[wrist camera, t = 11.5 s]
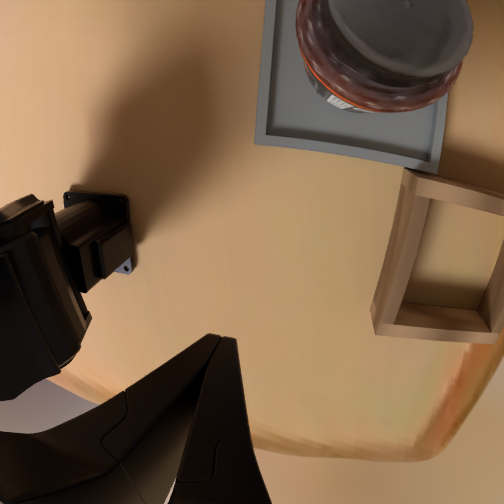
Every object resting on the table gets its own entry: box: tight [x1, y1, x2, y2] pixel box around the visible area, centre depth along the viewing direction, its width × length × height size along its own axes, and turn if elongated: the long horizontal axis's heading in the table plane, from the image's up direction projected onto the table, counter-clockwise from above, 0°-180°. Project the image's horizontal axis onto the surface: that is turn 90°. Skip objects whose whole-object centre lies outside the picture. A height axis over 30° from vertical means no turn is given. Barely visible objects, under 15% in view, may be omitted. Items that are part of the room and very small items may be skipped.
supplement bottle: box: [295, 0, 473, 113], centre depth 10 cm, size 6×6×11 cm
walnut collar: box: [370, 168, 504, 344], centre depth 18 cm, size 10×10×3 cm
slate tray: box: [254, 0, 448, 174], centre depth 15 cm, size 11×11×2 cm
